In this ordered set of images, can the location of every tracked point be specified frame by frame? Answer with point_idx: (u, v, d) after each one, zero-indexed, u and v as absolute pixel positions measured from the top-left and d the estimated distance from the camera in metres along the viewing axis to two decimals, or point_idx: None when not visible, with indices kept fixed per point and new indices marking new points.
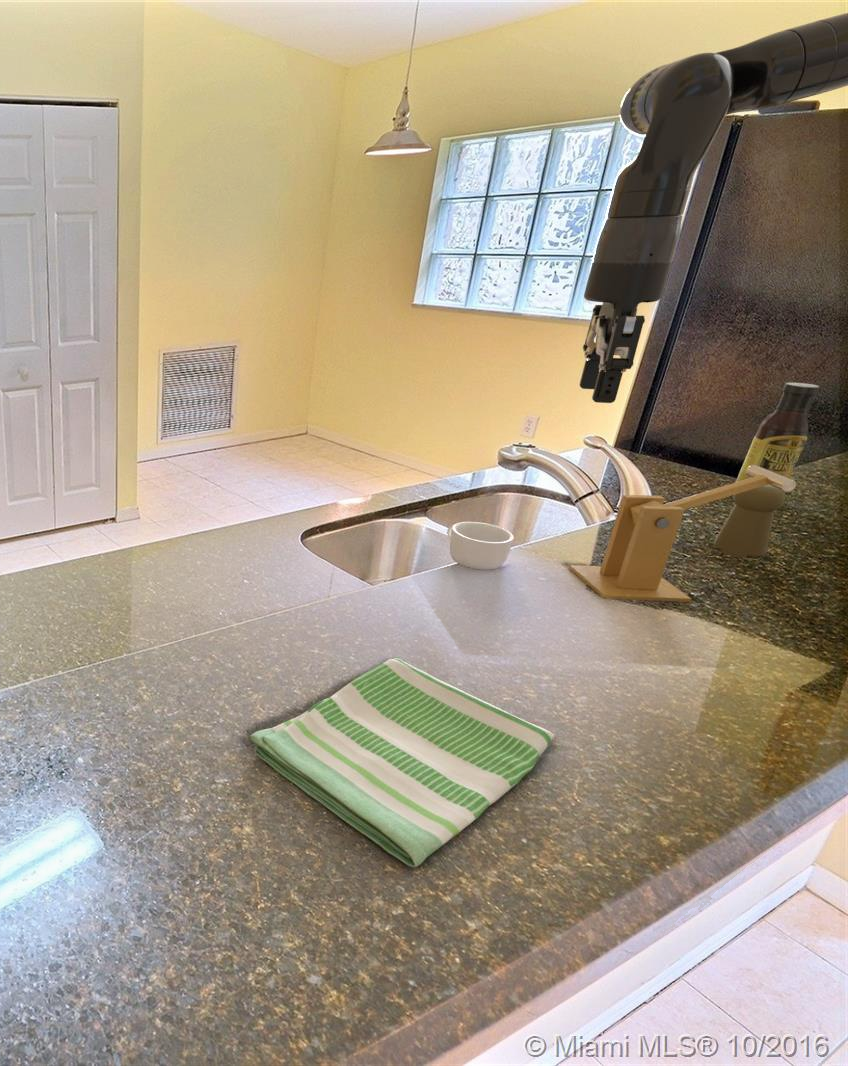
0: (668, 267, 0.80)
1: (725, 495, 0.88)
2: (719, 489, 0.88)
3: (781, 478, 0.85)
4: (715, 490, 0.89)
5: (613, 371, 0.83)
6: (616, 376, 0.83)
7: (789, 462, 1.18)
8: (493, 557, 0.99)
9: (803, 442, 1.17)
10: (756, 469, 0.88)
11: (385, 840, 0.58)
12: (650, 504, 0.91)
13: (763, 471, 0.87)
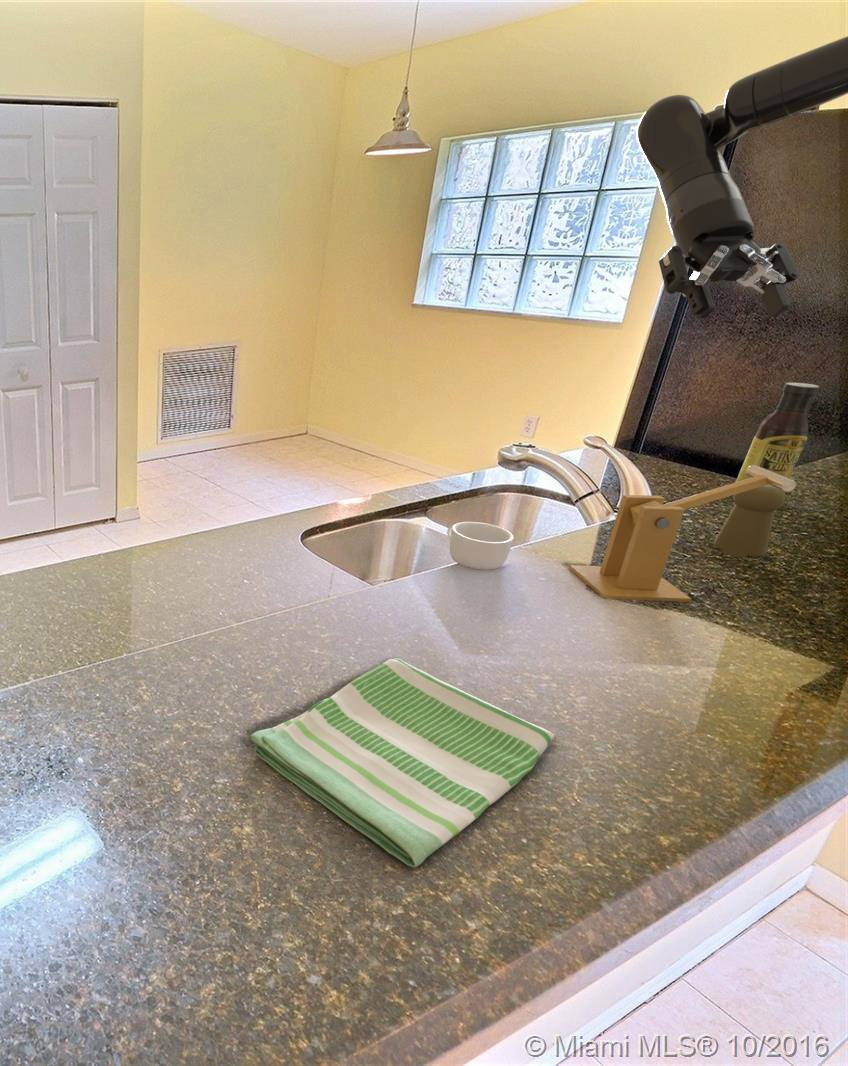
0: (710, 205, 0.94)
1: (725, 495, 0.88)
2: (719, 489, 0.88)
3: (781, 478, 0.85)
4: (715, 490, 0.89)
5: (687, 290, 0.93)
6: (692, 291, 0.92)
7: (789, 462, 1.18)
8: (493, 557, 0.99)
9: (803, 442, 1.17)
10: (756, 469, 0.88)
11: (385, 840, 0.58)
12: (650, 504, 0.91)
13: (763, 471, 0.87)
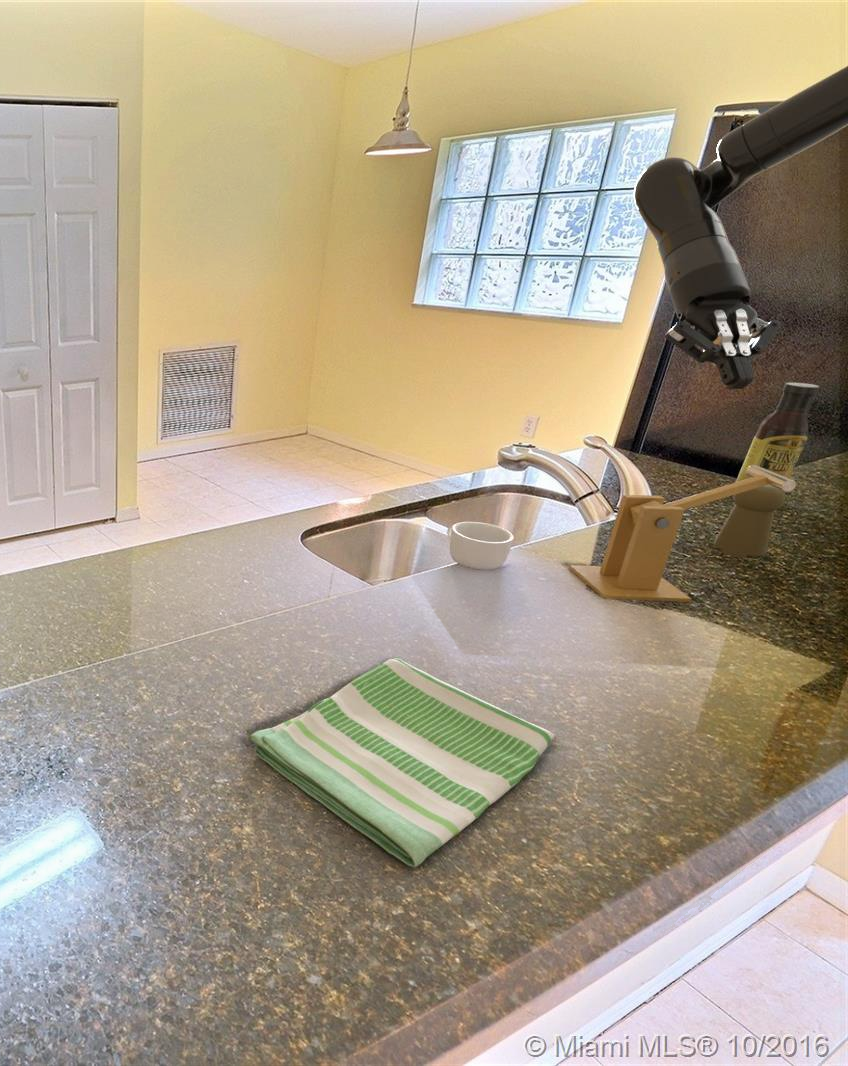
0: (707, 269, 0.95)
1: (725, 495, 0.88)
2: (719, 489, 0.88)
3: (781, 478, 0.85)
4: (715, 490, 0.89)
5: (718, 360, 0.93)
6: (723, 362, 0.92)
7: (789, 462, 1.18)
8: (493, 557, 0.99)
9: (803, 442, 1.17)
10: (756, 469, 0.88)
11: (385, 840, 0.58)
12: (650, 504, 0.91)
13: (763, 471, 0.87)
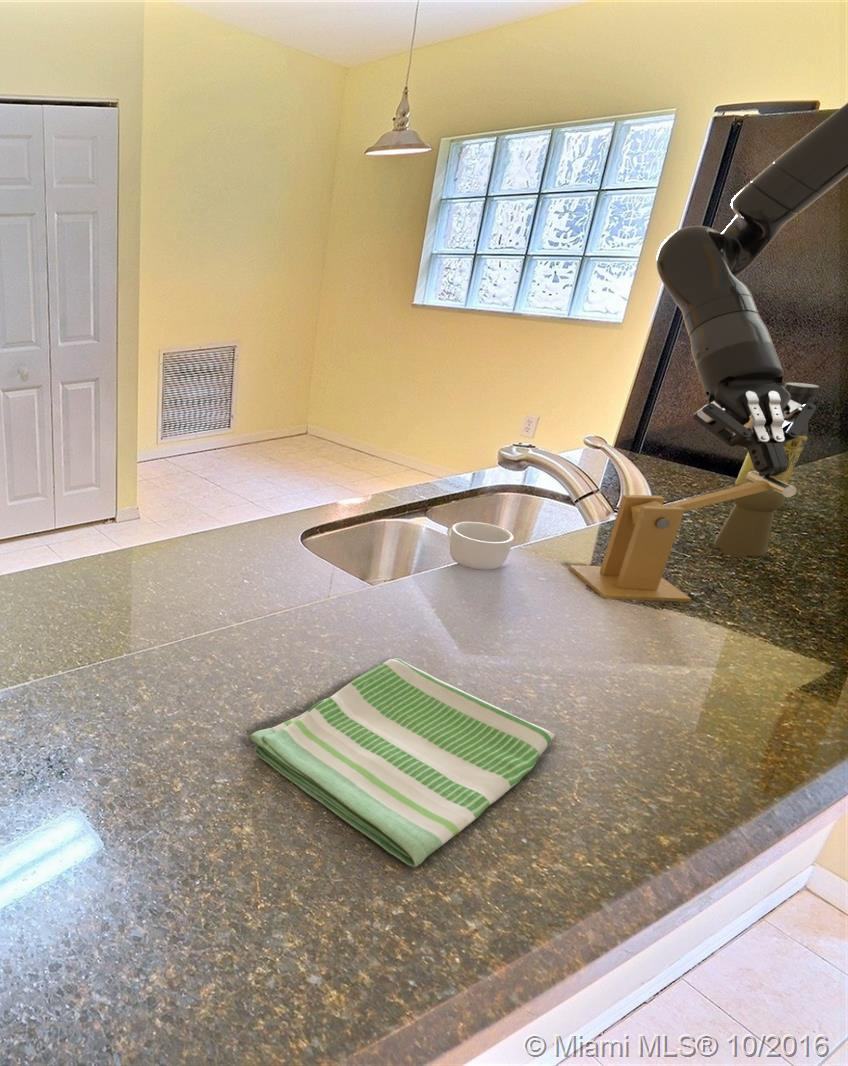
0: (738, 347, 0.90)
1: (725, 499, 0.88)
2: (720, 493, 0.88)
3: (782, 484, 0.85)
4: (716, 493, 0.89)
5: (749, 445, 0.88)
6: (755, 447, 0.88)
7: (789, 462, 1.18)
8: (493, 557, 0.99)
9: (803, 442, 1.17)
10: (757, 475, 0.89)
11: (385, 840, 0.58)
12: (651, 504, 0.91)
13: (764, 477, 0.88)
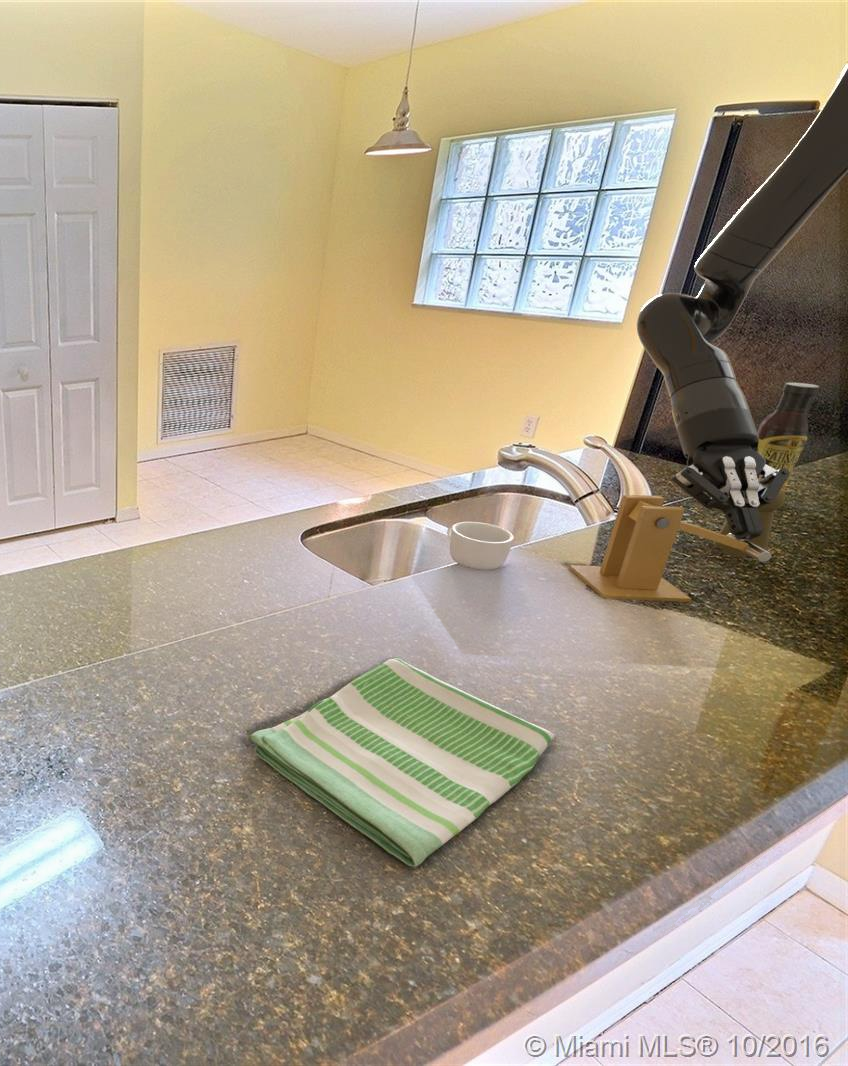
0: (715, 413, 0.93)
1: (711, 537, 0.90)
2: (710, 531, 0.90)
3: (762, 549, 0.88)
4: (706, 529, 0.91)
5: (726, 509, 0.92)
6: (731, 511, 0.91)
7: (789, 462, 1.18)
8: (493, 557, 0.99)
9: (803, 442, 1.17)
10: None
11: (385, 840, 0.58)
12: None
13: (746, 540, 0.91)
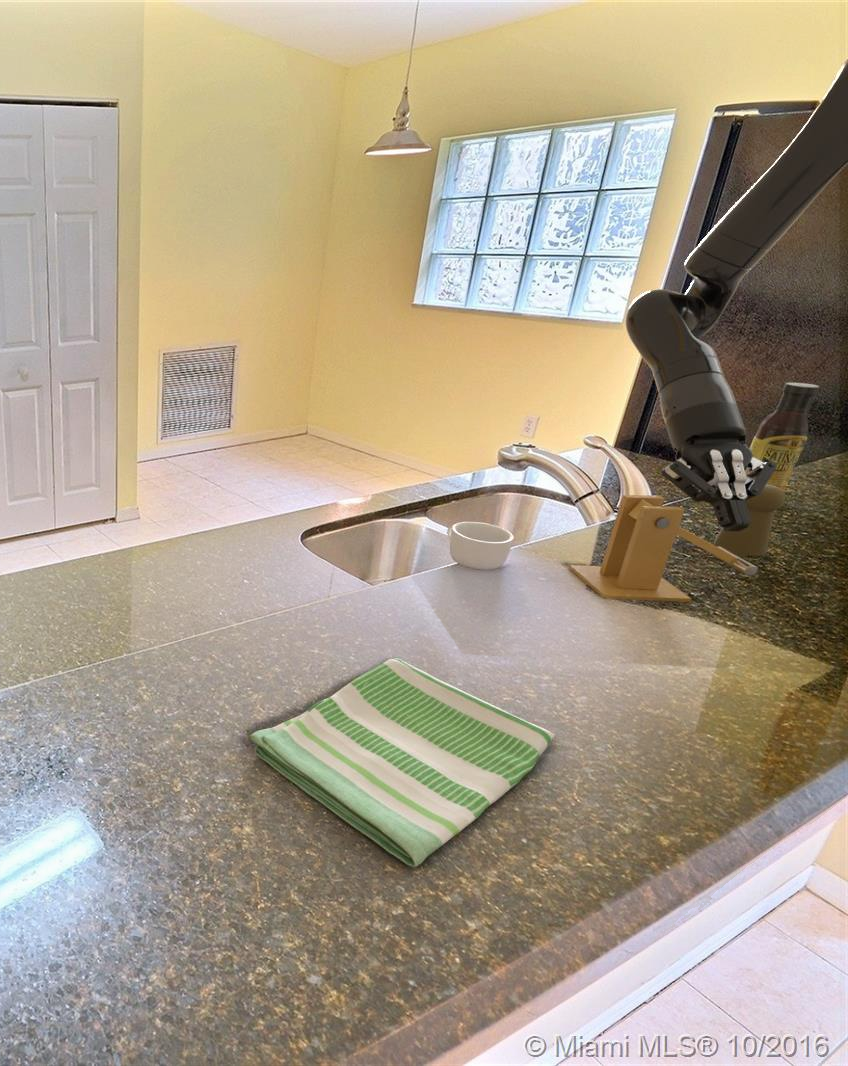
0: (702, 407, 0.95)
1: (702, 546, 0.91)
2: None
3: (749, 563, 0.89)
4: None
5: (714, 501, 0.93)
6: (719, 504, 0.92)
7: (789, 462, 1.18)
8: (493, 557, 0.99)
9: (803, 442, 1.17)
10: (727, 550, 0.93)
11: (385, 840, 0.58)
12: None
13: (734, 554, 0.92)
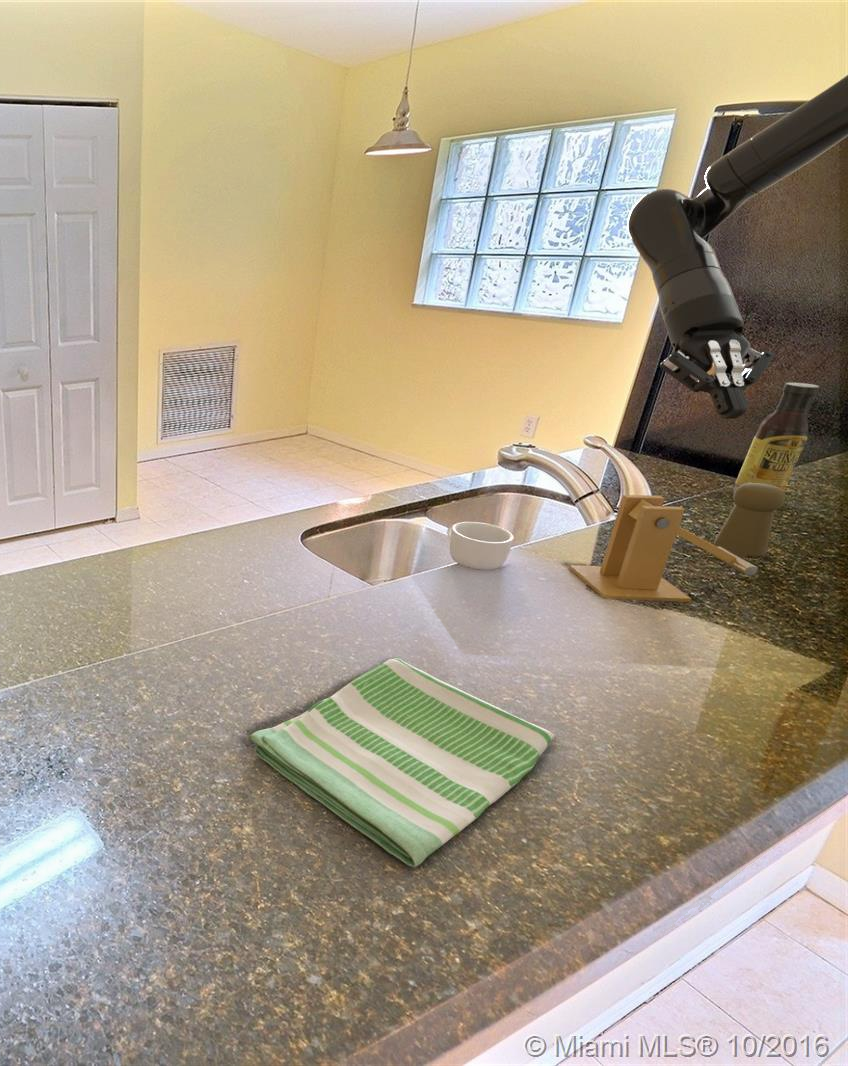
0: (701, 300, 0.96)
1: (702, 546, 0.91)
2: None
3: (749, 563, 0.89)
4: None
5: (712, 390, 0.95)
6: (717, 392, 0.94)
7: (789, 462, 1.18)
8: (493, 557, 0.99)
9: (803, 442, 1.17)
10: (727, 550, 0.93)
11: (385, 840, 0.58)
12: None
13: (734, 554, 0.92)
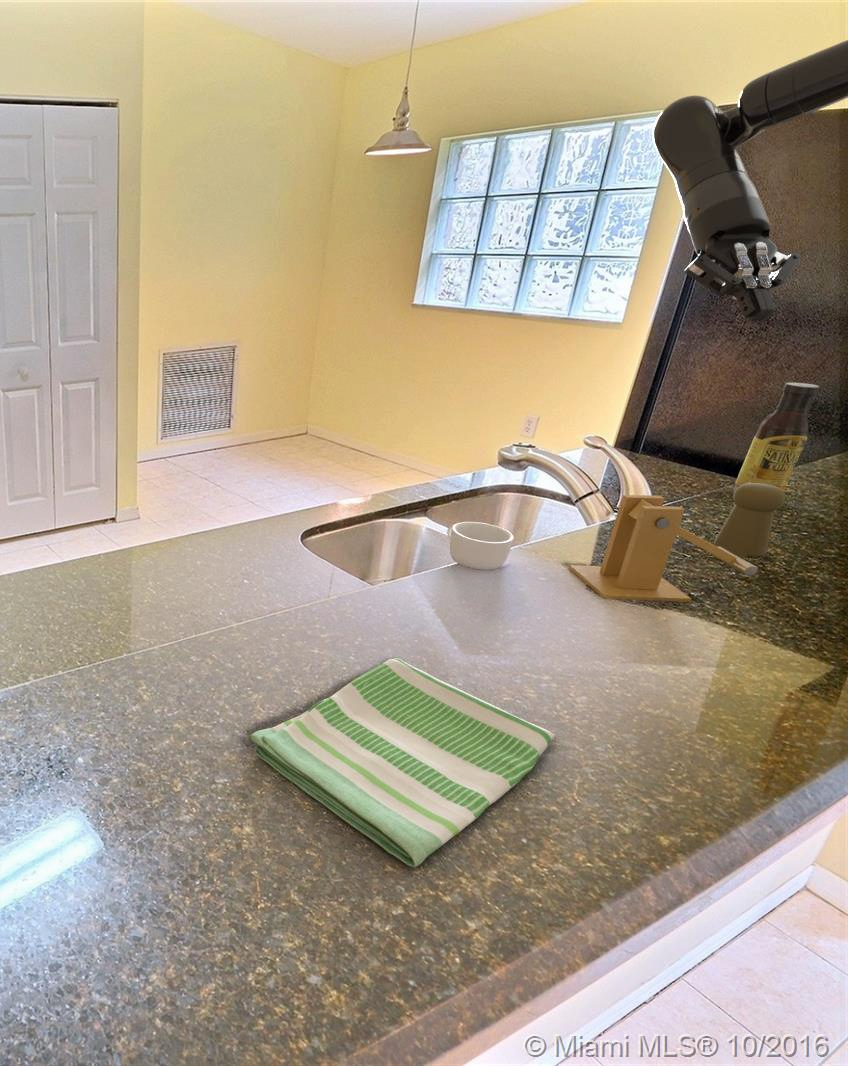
0: (727, 203, 0.95)
1: (702, 546, 0.91)
2: None
3: (749, 563, 0.89)
4: None
5: (738, 293, 0.93)
6: (744, 294, 0.93)
7: (789, 462, 1.18)
8: (493, 557, 0.99)
9: (803, 442, 1.17)
10: (727, 550, 0.93)
11: (385, 840, 0.58)
12: None
13: (734, 554, 0.92)
